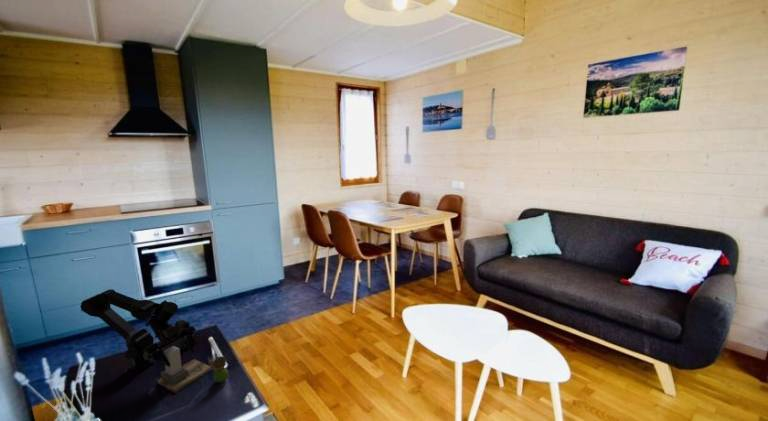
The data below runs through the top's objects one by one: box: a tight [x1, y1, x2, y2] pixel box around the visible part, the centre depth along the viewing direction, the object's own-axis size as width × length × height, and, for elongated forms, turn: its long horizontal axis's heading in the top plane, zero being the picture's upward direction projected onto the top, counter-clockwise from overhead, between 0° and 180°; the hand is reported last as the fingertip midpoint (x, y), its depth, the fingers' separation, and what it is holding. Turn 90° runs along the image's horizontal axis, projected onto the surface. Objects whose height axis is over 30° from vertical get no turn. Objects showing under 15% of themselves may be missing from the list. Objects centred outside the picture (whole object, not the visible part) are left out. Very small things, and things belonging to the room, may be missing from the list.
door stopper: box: [172, 318, 200, 352], centre depth 160 cm, size 9×6×12 cm, turn 148°
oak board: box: [157, 358, 213, 394], centre depth 139 cm, size 12×15×1 cm
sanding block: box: [160, 345, 188, 385], centre depth 136 cm, size 8×6×12 cm
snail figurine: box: [207, 355, 230, 384], centre depth 134 cm, size 5×6×12 cm
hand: (181, 359), depth 137 cm, fingers open, 9 cm apart
